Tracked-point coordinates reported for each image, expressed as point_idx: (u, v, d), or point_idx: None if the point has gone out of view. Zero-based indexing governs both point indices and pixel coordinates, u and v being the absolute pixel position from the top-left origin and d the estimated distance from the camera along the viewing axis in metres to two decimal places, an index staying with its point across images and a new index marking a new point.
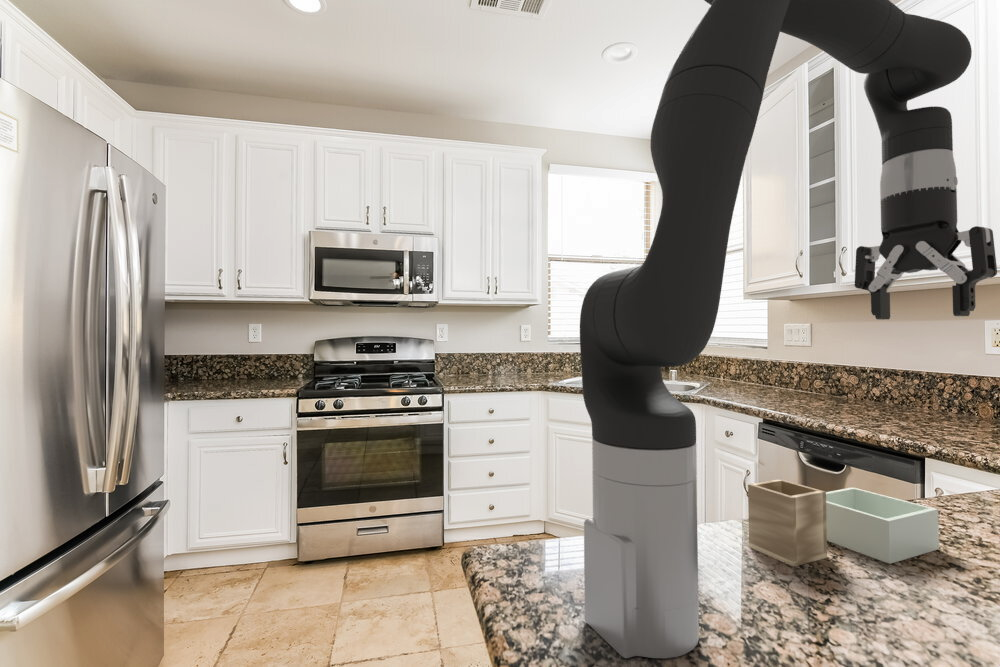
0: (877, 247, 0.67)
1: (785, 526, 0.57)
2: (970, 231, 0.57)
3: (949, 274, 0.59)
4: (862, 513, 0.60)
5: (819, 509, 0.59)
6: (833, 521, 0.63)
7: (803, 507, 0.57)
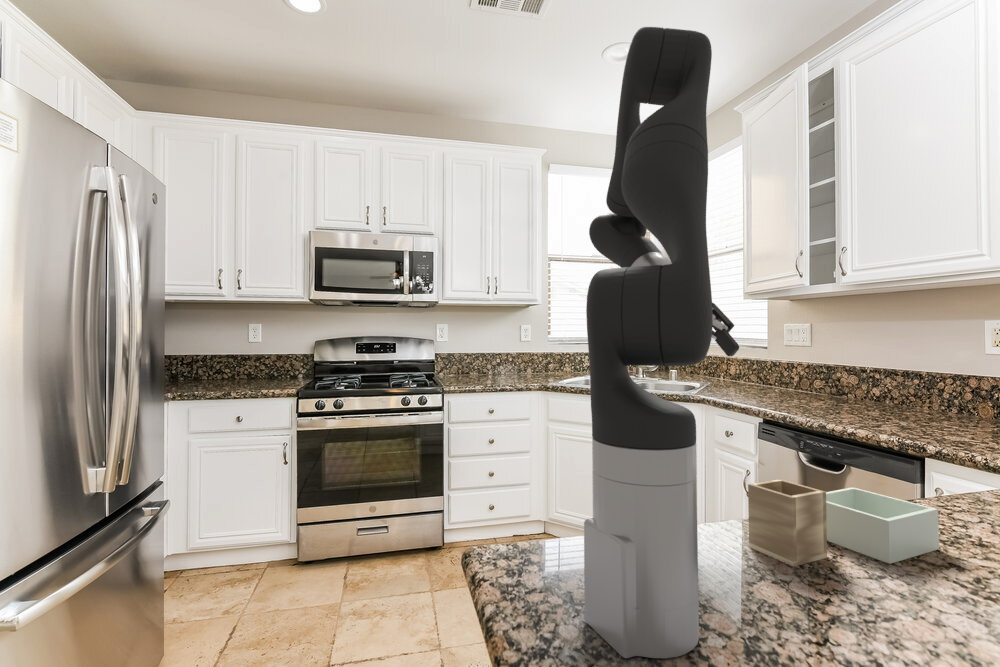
0: None
1: (785, 526, 0.57)
2: None
3: (716, 323, 0.76)
4: (862, 513, 0.60)
5: (820, 509, 0.59)
6: (833, 521, 0.63)
7: (803, 507, 0.57)
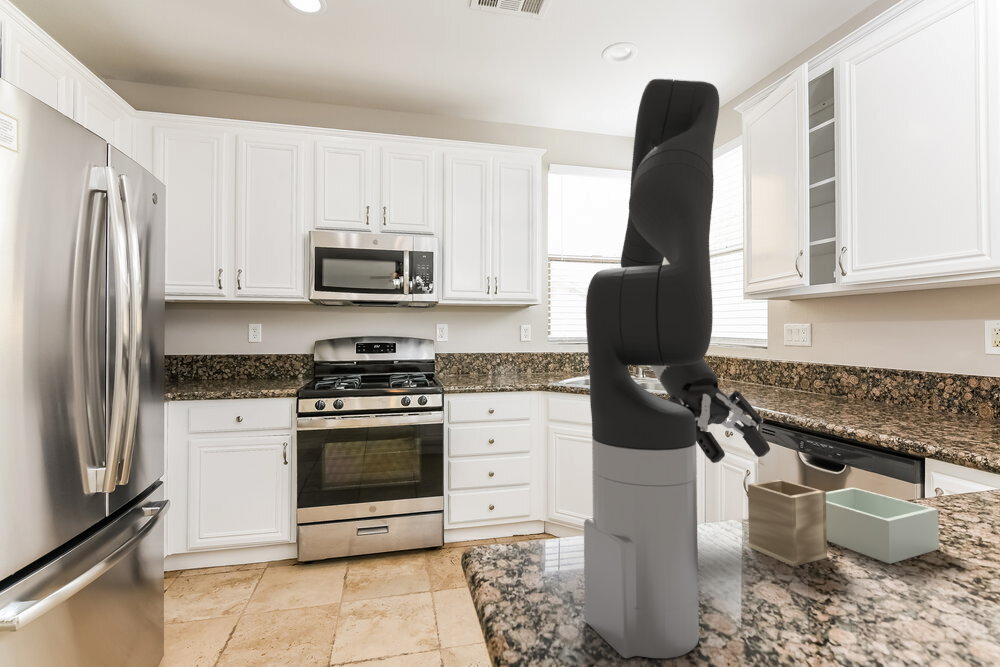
0: (680, 399, 0.71)
1: (785, 526, 0.57)
2: (735, 393, 0.75)
3: (744, 419, 0.70)
4: (862, 513, 0.60)
5: (819, 509, 0.59)
6: (833, 521, 0.63)
7: (803, 507, 0.57)
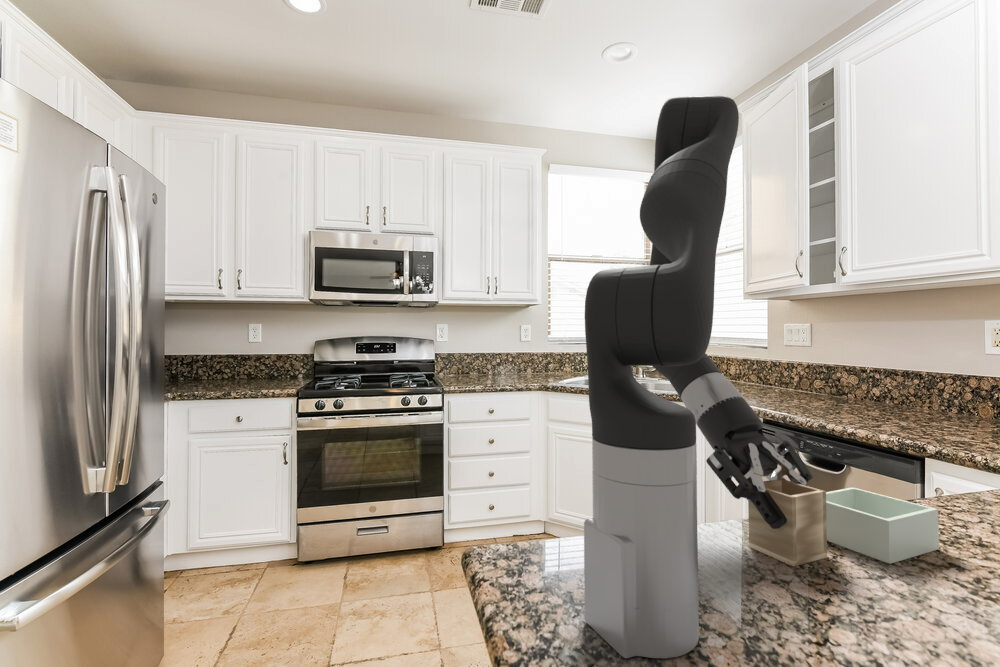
0: (724, 451, 0.64)
1: (785, 526, 0.57)
2: (784, 443, 0.67)
3: (792, 475, 0.63)
4: (862, 513, 0.60)
5: (819, 508, 0.59)
6: (833, 521, 0.63)
7: (803, 507, 0.57)
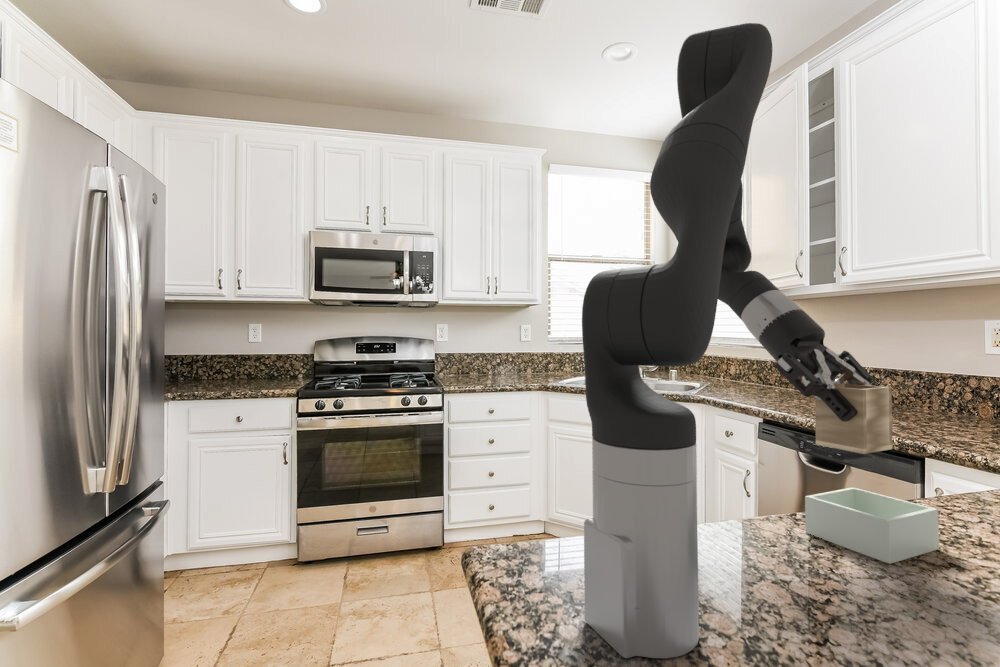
0: None
1: (855, 417, 0.61)
2: (844, 352, 0.71)
3: (856, 377, 0.66)
4: (862, 513, 0.60)
5: (886, 403, 0.62)
6: (833, 521, 0.63)
7: (872, 399, 0.61)
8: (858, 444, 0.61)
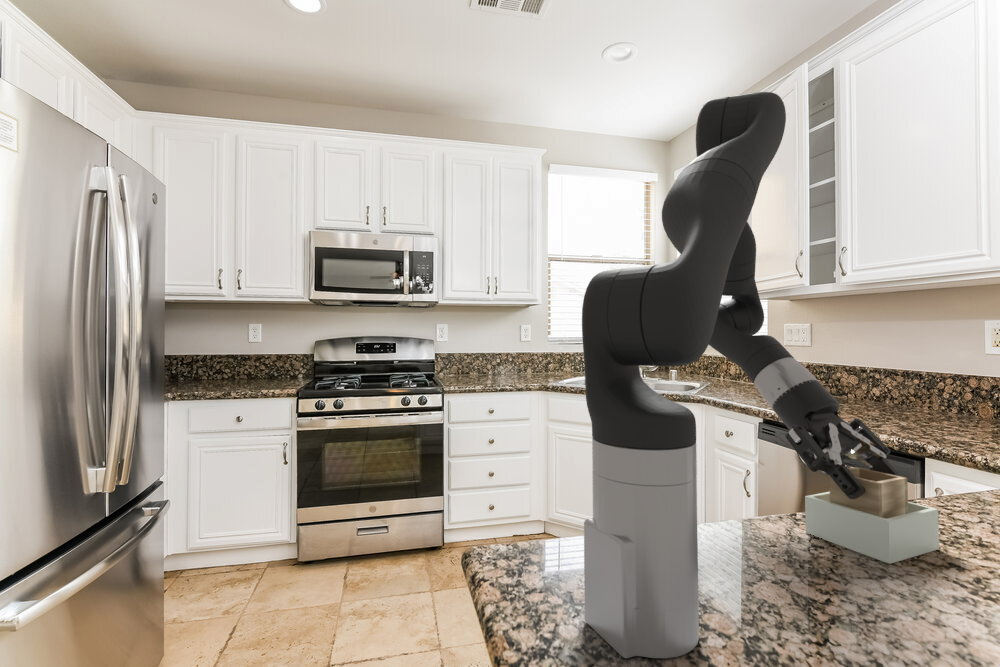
0: (804, 428, 0.67)
1: (871, 510, 0.61)
2: (856, 421, 0.71)
3: (873, 450, 0.67)
4: (862, 513, 0.60)
5: (902, 494, 0.62)
6: (833, 521, 0.63)
7: (888, 492, 0.61)
8: None
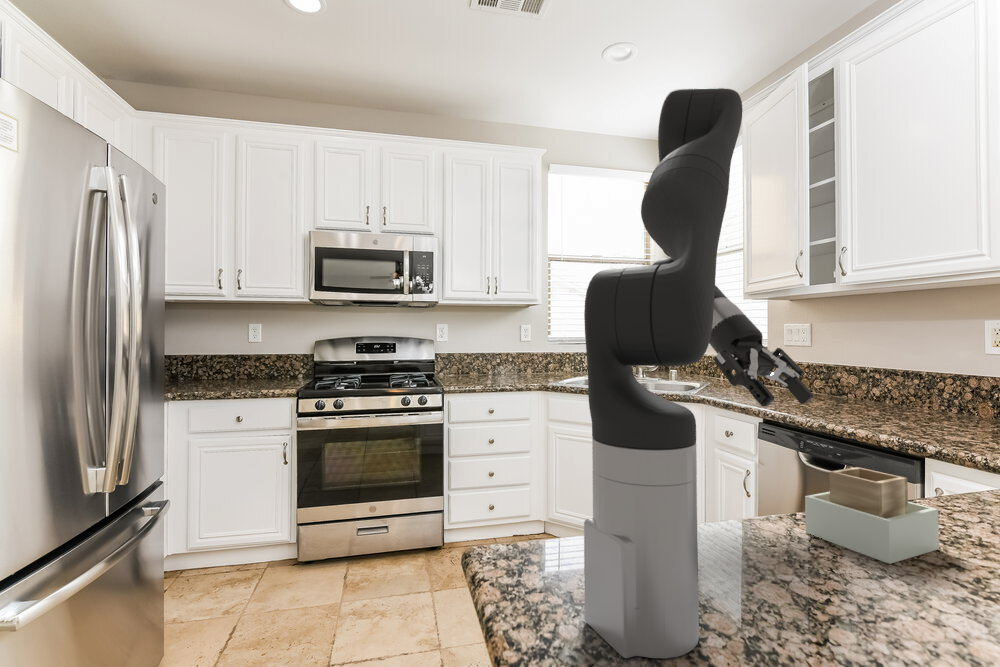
0: (730, 353, 0.78)
1: (871, 510, 0.61)
2: (778, 349, 0.82)
3: (788, 371, 0.78)
4: (862, 513, 0.60)
5: (902, 494, 0.62)
6: (833, 521, 0.63)
7: (888, 492, 0.61)
8: None
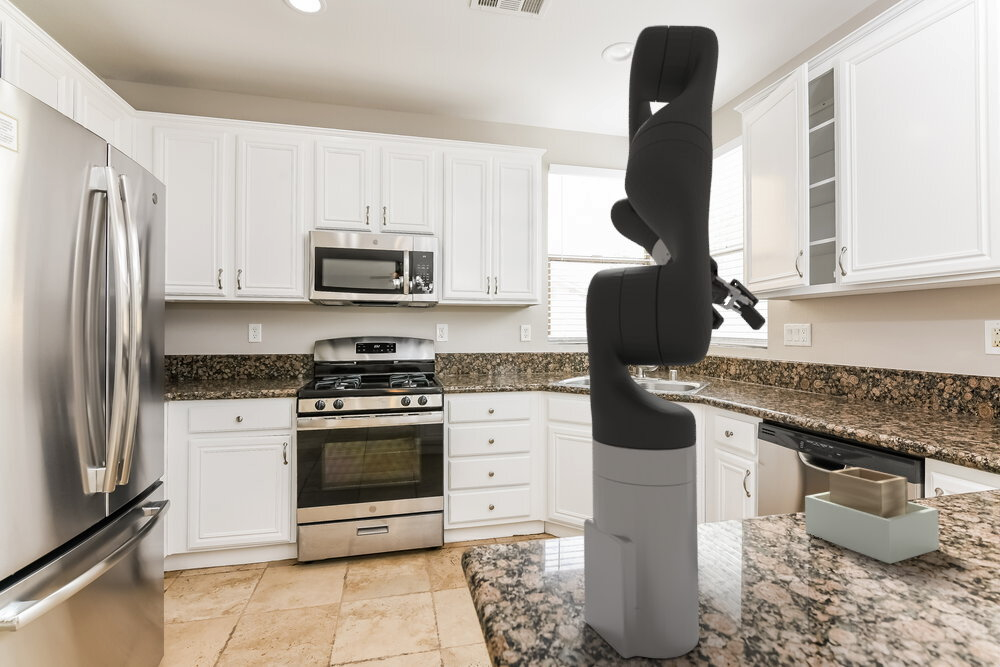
0: None
1: (871, 510, 0.61)
2: (733, 280, 0.81)
3: (742, 298, 0.77)
4: (862, 513, 0.60)
5: (902, 494, 0.62)
6: (833, 521, 0.63)
7: (888, 492, 0.61)
8: None
